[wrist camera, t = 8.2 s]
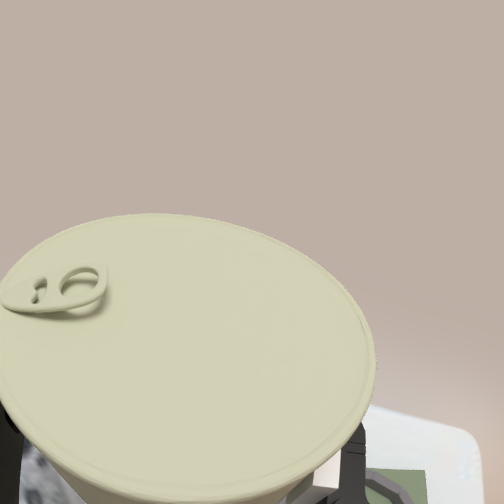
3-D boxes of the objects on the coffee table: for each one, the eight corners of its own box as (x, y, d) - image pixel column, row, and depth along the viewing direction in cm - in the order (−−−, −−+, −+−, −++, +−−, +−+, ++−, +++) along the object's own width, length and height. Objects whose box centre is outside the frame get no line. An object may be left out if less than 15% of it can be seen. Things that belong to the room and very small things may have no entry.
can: (76, 406, 14) (30, 198, 8) (231, 394, 18) (282, 204, 12) (99, 563, 7) (-71, 485, 1) (293, 529, 11) (465, 392, 5)
